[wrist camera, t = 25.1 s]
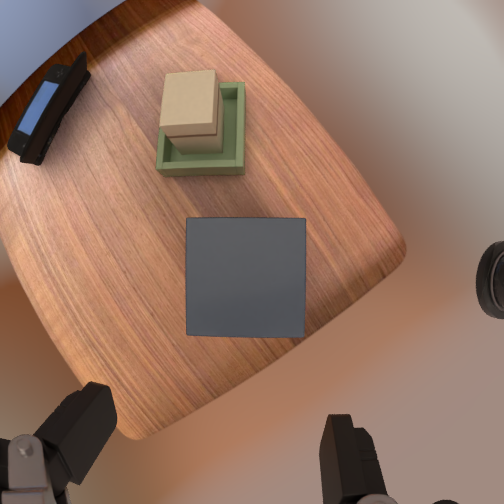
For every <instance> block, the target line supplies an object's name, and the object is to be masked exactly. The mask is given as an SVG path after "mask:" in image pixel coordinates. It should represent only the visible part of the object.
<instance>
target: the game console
mask: <svg viewBox="0 0 504 504" xmlns="http://www.w3.org/2000/svg"><path fill="white" fill-rule="evenodd" d="M90 76H91V74H90V72H89V71H88V70H87V60H86V52H82V53H81V54H80V55H79V56H78V57H77V59H76V60H75V61H74V63H73V64H72V66H71V67H69V66H65V65H60V64H55V65H53V66H51V67H50V69H49V70H48V72H47V73H46V75H45V76H44V78H43V79H42V81H41V82H40V84H39V85H38V87H37V89H36V90H35V92H34V94H33V95H32V97H31V99H30V101H29V102H28V104H27V106H26V107H25V109H24V111H23V113H22V115H21V117H20V119H19V120H18V122H17V124H16V126H15V128H14V130H13V132H12V134H11V136H10V138H9V140H8V144H7V147H8V149H9V150H10V151H12V152H14V153H15V154H17V155H19V156H21V157H20V162H22V163H29V164H34V165H37V166H39V165H40V164H41V163H42V161H43V159H44V157H45V154H46V152H47V150H48V148H49V146H50V144H51V142H52V140H53V138H54V136H55V134H56V132H57V130H58V128H59V126H60V123H61V120H62V118H63V116H64V115H65V114H66V113H67V112H68V110H69V108H70V107H71V106H72V104H73V103H74V101H75V99H76V98H77V96H78V95H79V93H80V91H81V90H82V88H83V87H84V85H85V84H86V83H87V81H88V80H89V78H90Z"/></svg>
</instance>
